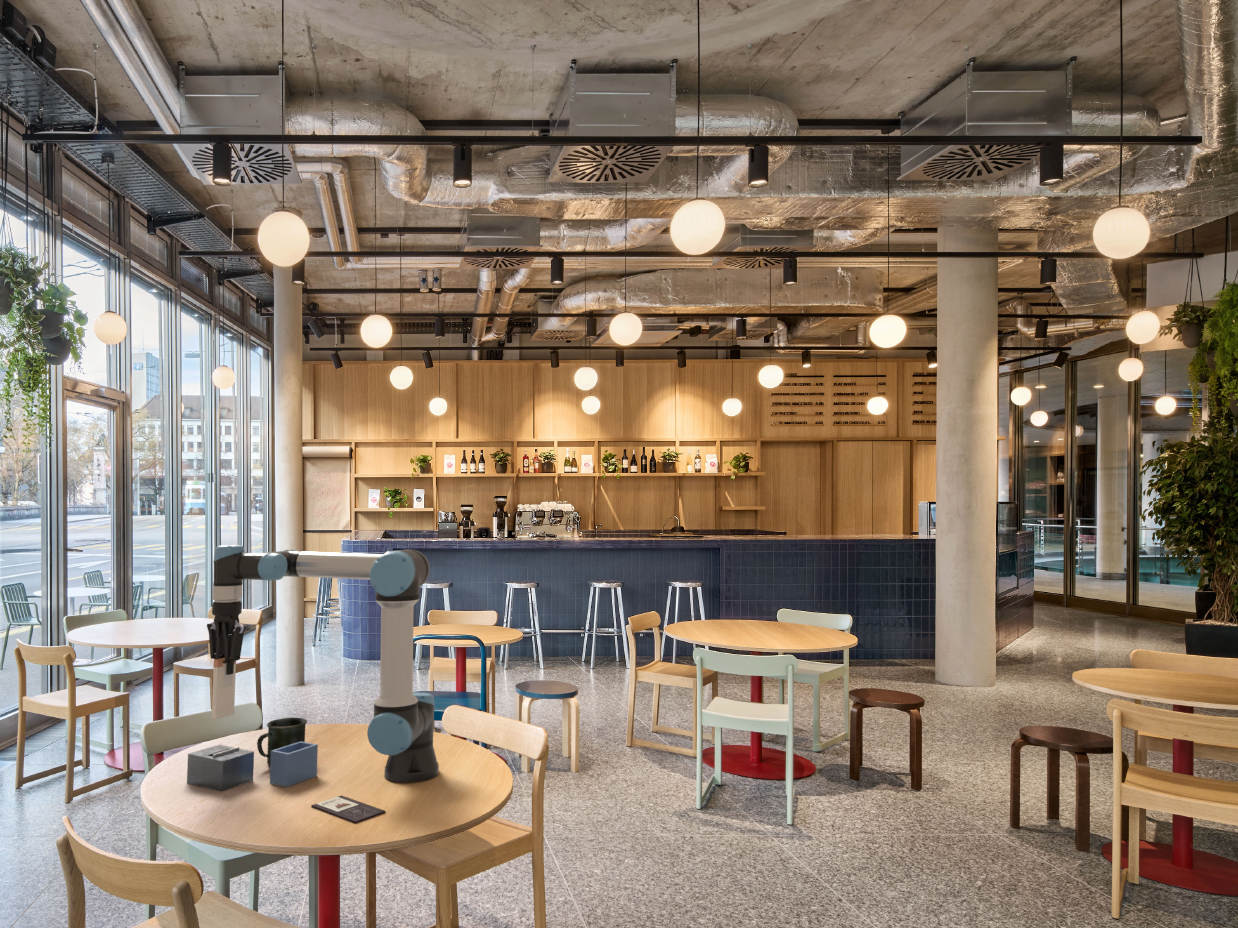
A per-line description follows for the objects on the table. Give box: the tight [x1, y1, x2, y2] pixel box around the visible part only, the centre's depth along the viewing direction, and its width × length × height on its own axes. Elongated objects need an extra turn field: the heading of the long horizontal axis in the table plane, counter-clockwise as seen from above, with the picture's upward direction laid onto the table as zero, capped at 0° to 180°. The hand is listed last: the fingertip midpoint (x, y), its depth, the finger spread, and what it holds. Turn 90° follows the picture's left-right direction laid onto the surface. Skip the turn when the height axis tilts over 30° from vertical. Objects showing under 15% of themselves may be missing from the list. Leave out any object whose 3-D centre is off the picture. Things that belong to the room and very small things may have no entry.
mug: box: [256, 717, 308, 767], centre depth 245 cm, size 11×15×12 cm
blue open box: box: [269, 741, 319, 788], centre depth 232 cm, size 7×11×9 cm, turn 154°
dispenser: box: [186, 744, 255, 793], centre depth 229 cm, size 14×10×9 cm
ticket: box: [211, 658, 237, 720], centre depth 230 cm, size 2×6×16 cm, turn 154°
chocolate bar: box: [311, 795, 386, 825], centre depth 209 cm, size 9×1×18 cm
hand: (224, 685), depth 230 cm, fingers closed on ticket, 1 cm apart
